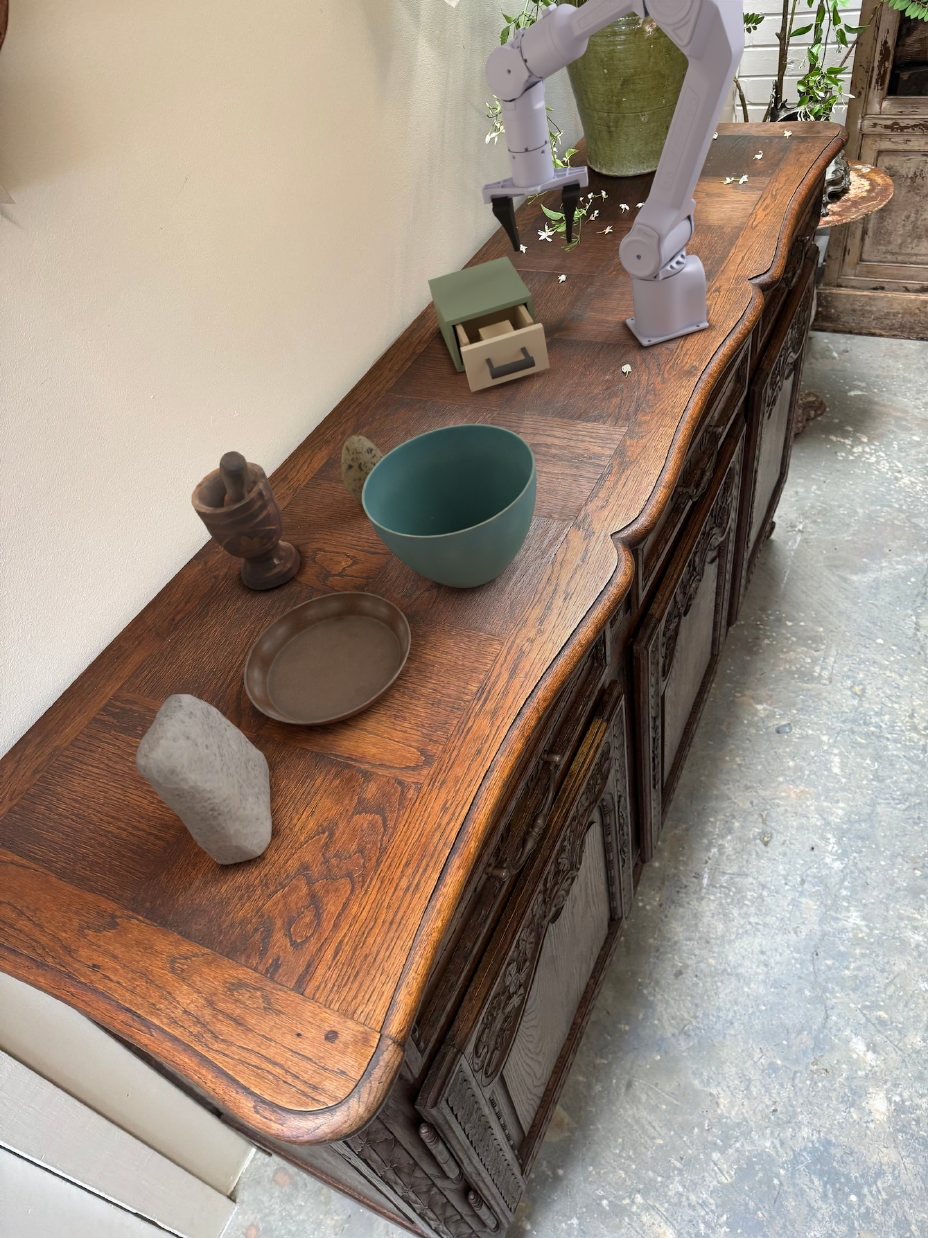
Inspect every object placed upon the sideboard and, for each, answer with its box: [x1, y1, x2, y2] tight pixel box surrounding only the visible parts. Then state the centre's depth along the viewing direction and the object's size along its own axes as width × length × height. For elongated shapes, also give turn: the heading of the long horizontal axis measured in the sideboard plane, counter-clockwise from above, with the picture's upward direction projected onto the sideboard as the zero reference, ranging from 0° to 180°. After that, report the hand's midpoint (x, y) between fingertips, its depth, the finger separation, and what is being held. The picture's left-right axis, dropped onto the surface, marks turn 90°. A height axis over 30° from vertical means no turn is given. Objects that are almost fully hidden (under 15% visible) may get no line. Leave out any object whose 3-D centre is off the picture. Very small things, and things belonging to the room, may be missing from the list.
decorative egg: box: [340, 434, 385, 507], centre depth 102 cm, size 6×6×10 cm
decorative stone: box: [134, 693, 273, 865], centre depth 72 cm, size 11×6×15 cm, turn 5°
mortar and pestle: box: [191, 450, 301, 591], centre depth 93 cm, size 12×9×20 cm
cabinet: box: [427, 255, 537, 373], centre depth 125 cm, size 15×13×8 cm
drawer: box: [452, 303, 550, 393], centre depth 117 cm, size 18×11×6 cm, turn 12°
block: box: [479, 320, 514, 341], centre depth 117 cm, size 4×4×4 cm
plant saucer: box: [243, 591, 412, 726], centre depth 86 cm, size 18×18×3 cm
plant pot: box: [362, 423, 538, 589], centre depth 90 cm, size 18×18×12 cm
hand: (543, 244), depth 122 cm, fingers open, 7 cm apart
